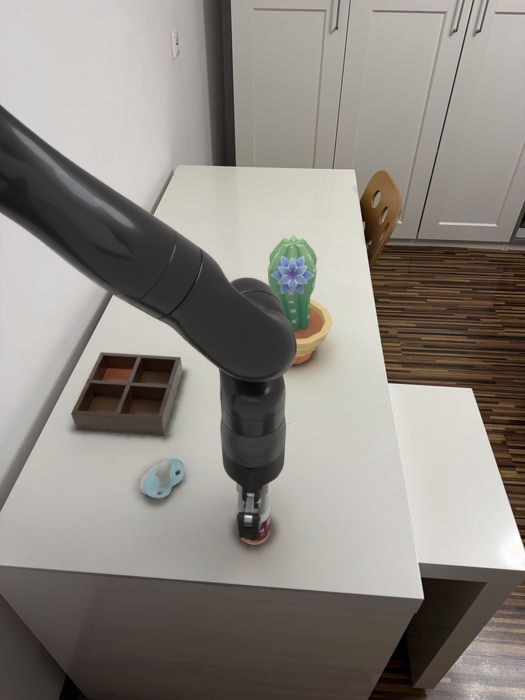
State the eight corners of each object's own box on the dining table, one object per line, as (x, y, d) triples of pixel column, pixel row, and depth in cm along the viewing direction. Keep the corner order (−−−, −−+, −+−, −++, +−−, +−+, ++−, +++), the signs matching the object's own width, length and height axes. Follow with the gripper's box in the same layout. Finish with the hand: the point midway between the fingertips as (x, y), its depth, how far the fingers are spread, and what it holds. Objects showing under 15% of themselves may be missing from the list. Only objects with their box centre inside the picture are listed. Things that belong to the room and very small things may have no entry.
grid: (164, 435, 85) (161, 420, 82) (76, 429, 86) (70, 413, 83) (182, 372, 97) (180, 357, 94) (105, 367, 98) (100, 352, 95)
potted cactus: (237, 353, 101) (233, 244, 84) (281, 316, 110) (286, 210, 93) (300, 387, 94) (310, 275, 77) (342, 344, 103) (359, 236, 86)
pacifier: (131, 491, 77) (160, 509, 75) (122, 467, 73) (154, 485, 71) (162, 458, 82) (191, 474, 79) (156, 433, 78) (186, 449, 75)
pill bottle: (234, 542, 71) (232, 511, 65) (241, 512, 75) (240, 480, 69) (267, 548, 70) (268, 517, 65) (272, 517, 74) (274, 486, 68)
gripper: (229, 391, 64) (233, 467, 75) (211, 489, 53) (219, 561, 64) (288, 394, 63) (283, 471, 75) (282, 494, 53) (277, 566, 64)
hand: (254, 513), depth 69 cm, fingers open, 6 cm apart
